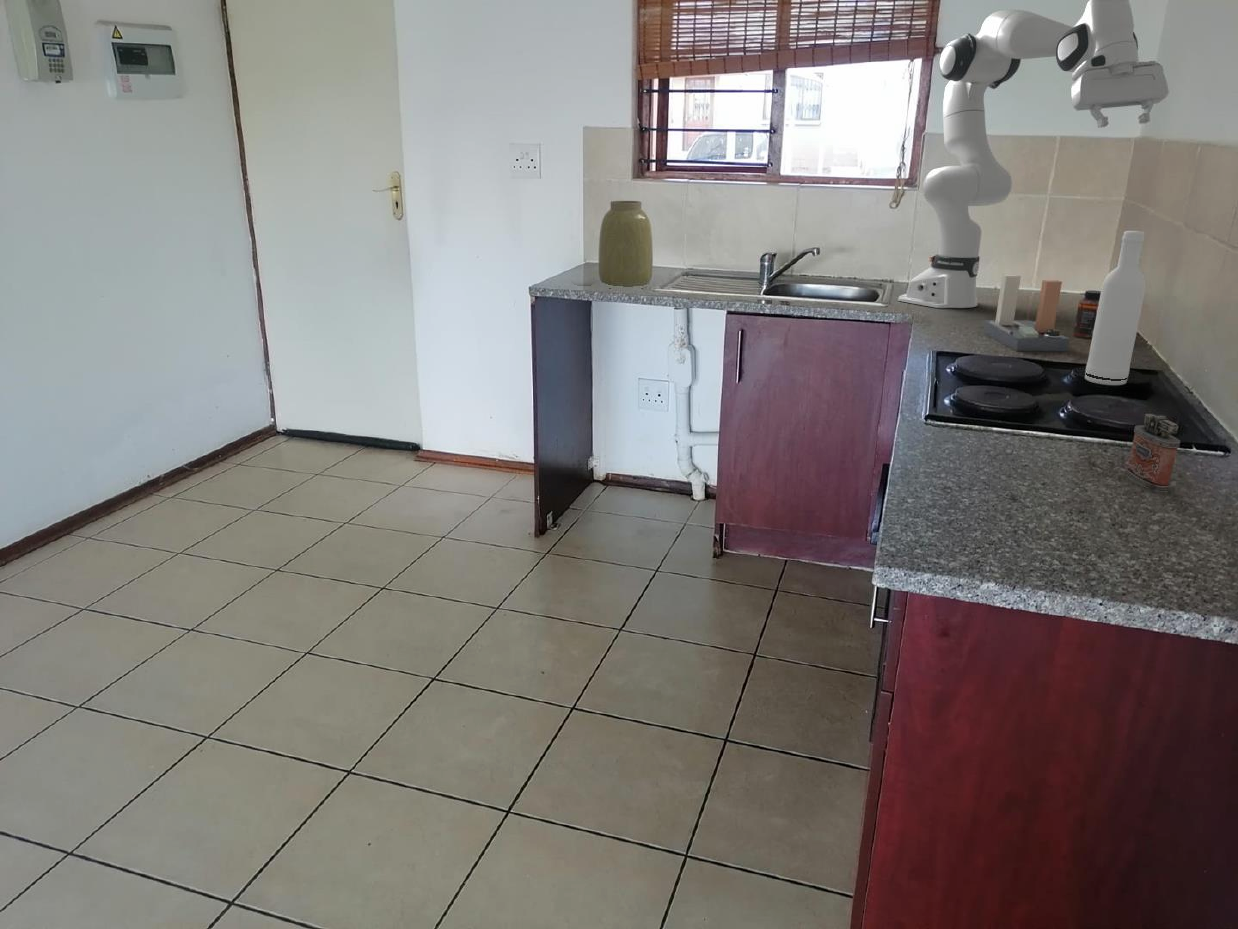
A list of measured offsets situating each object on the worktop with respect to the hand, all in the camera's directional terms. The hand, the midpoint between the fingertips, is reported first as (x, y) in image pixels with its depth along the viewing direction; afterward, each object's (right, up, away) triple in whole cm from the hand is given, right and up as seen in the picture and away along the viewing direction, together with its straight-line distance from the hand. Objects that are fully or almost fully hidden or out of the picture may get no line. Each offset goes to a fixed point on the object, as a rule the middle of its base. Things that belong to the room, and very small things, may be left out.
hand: (1124, 124), depth 201 cm
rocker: (-16, -46, +11) cm, 50 cm away
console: (-14, -46, +20) cm, 52 cm away
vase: (-110, -19, +90) cm, 144 cm away
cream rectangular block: (-17, -41, +24) cm, 50 cm away
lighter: (-35, -79, -68) cm, 110 cm away
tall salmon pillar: (-10, -44, +16) cm, 48 cm away
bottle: (-12, -59, -14) cm, 61 cm away
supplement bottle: (+5, -44, +26) cm, 51 cm away
